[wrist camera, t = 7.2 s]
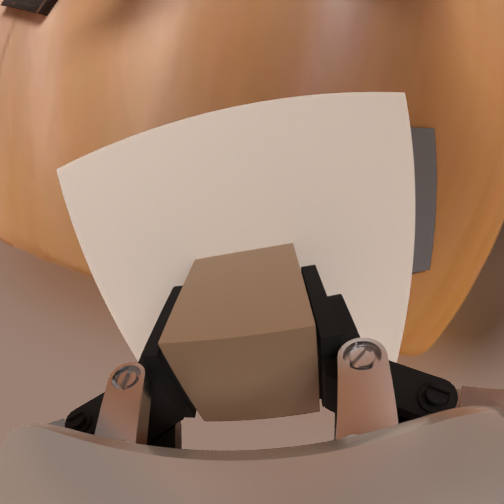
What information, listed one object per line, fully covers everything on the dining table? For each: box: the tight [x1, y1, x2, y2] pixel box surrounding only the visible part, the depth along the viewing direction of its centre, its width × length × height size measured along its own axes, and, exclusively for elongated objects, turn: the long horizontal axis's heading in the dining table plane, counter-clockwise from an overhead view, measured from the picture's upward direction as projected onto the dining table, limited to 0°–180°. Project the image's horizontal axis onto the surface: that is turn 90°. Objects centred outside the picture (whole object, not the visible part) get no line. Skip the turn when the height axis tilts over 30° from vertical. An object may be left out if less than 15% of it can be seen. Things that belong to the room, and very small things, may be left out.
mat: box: [410, 127, 437, 273], centre depth 26 cm, size 17×17×1 cm
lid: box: [56, 92, 415, 421], centre depth 10 cm, size 15×15×6 cm
